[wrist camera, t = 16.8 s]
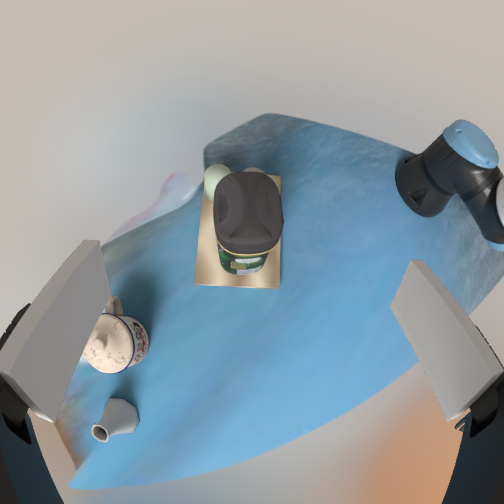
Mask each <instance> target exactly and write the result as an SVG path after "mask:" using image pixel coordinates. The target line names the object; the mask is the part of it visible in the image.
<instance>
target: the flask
mask: <svg viewBox="0 0 504 504" xmlns="http://www.w3.org/2000/svg"><path fill="white" fill-rule="evenodd" d="M138 424H139V418H138V414H137V409H136V407H134V406H133V405H131V404H130V403H128V402H127V401H125V400H124V399H117V398H109V400H108V402H107V403H106V405H105V407H104V410H103V415H102V418H101V421H100V422H99V423H98V424H96V423H94V424H93V426H92V428H91V431H92V435H93V437H95V438H96V439H97V440H99V441H102V442H107V441H108V439H109V437H110V436H112V435H114V434H121V433H133V432H134V431H135V429H136V427H137V425H138Z"/></svg>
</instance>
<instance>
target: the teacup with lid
mask: <svg viewBox="0 0 504 504" xmlns="http://www.w3.org/2000/svg"><path fill="white" fill-rule="evenodd" d="M113 303H114V306H115V311H116V315H114V314H113ZM105 311H106V313H102V314H101V316H100V318H99V320H98V322H97V324H96V326H95V328H94V330H93V332H92V334H91V336H90V338H89V340H88V342H87V344H86V346H85V349H84V351H83V352H84V355H85V357H86V358H87V360H88V361H89V363H90V364H91V365H92V366H93V367H95V368H96V369H97V370H99V371H101V372H104V373H108V374H115V373H119V372H121V371H123V370H125V369H126V368H127V367H129V366H132V365H134V364H136V363H138V362H140V361H141V360H142V359H143V358H144V357H145V355H146V353H147V351H148V346H149V340H148V335H147V333H146V330H145V329H144V327H143V326H142V325H141V323H139V322H138V321H137V320H135V319H133V318H131V317H127V316H123V312H122V305H121V302H120V300H119V299H118V297H116V296H114V295H111V297H110V299H109V300H108V302H107V304H106V306H105Z"/></svg>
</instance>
